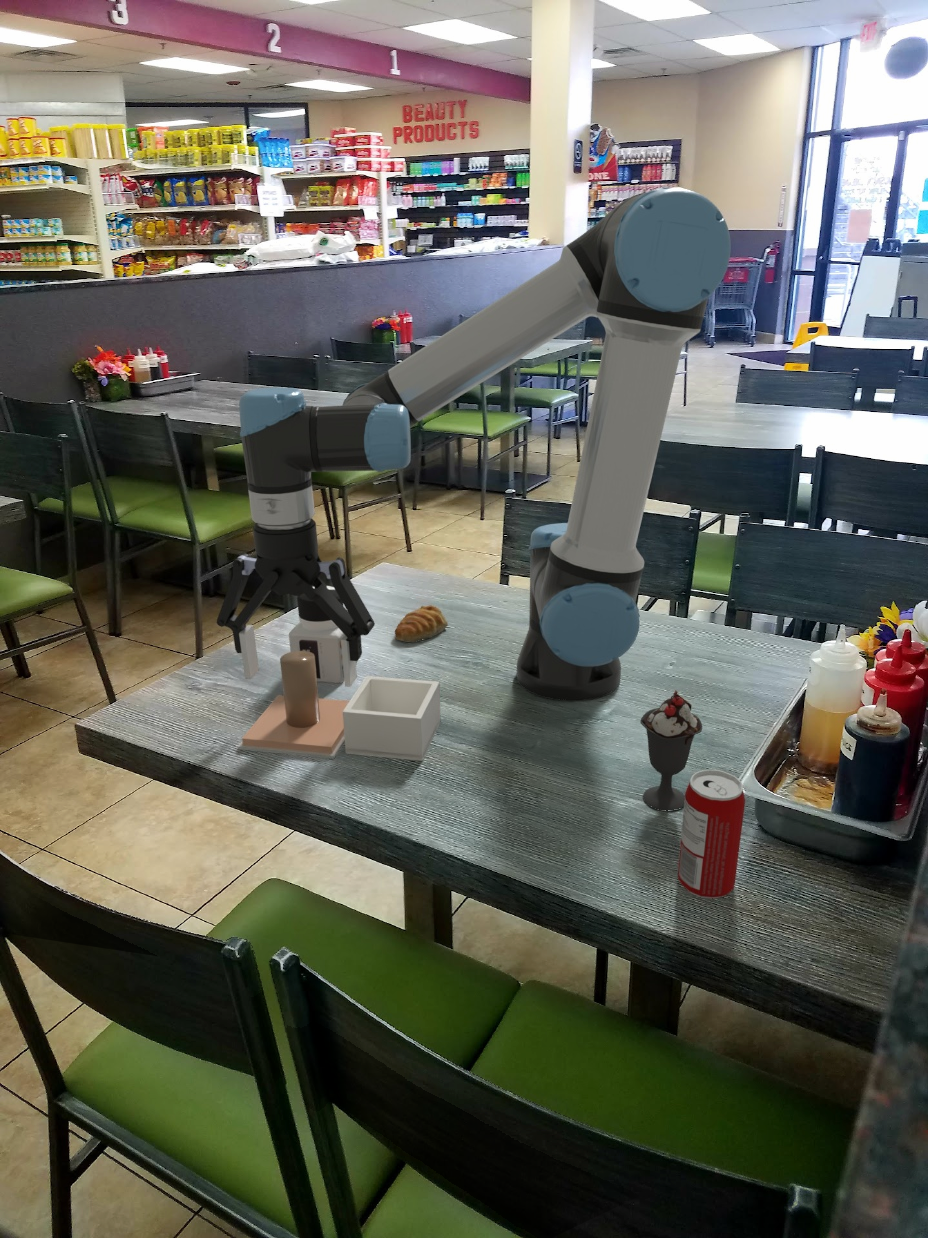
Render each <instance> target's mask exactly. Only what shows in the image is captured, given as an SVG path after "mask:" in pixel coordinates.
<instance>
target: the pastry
mask: <svg viewBox="0 0 928 1238" xmlns="http://www.w3.org/2000/svg"><path fill="white" fill-rule="evenodd" d="M448 624H449V623H448V620H447V619H446V617H445V615H444V614H443V612H442V610H441V609H440V608H439V607H437V606H434V605H432V604H431V605H425V606H424V605H421V606H420V608H418V609H415V610H413V611H410V612H408V613H406V614H405V615H404V617H403V618H402V619H401V620H400V621H399V623H398V624H397V626H396V628H395V629H394V636H395V640H396V641H401V642H407V643H414V642H415V643H417V642H419V641H418V640H421V641H423V640H422V639H425V640H429V639H431V638H432V637H431V636H433V637H435V636H437V635H438V633H439V634H440V632H441V633H442V632H444V631H445V630H446V628H447V627H448ZM436 634H437V635H436ZM434 635H435V636H434ZM428 638H429V639H428ZM416 641H417V642H416Z"/></svg>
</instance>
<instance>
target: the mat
mask: <svg viewBox="0 0 928 1238" xmlns="http://www.w3.org/2000/svg"><path fill="white" fill-rule="evenodd" d="M344 745H345V737H344V736H343V737H342V739H341V741H340V742H339V744H338V745H337V747H336V748H335V750H334V752H333V753H332V754H329V753H318V752H308V751H298V750H288V749H277V748H267V747H257V746H247V745H243V742H242V740H241V742H240V743H238V745H237V746H236V748H237V750H240V751H251V752H261V753H273V754H280V755H292V756H302V757H303V756H304V757H311V758H322V759H331V760H334V759H335V758H336V757H337V755H338V753H339V752H340V751H341V749H343V748H342V747H343V746H344Z"/></svg>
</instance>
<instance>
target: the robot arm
mask: <svg viewBox="0 0 928 1238" xmlns="http://www.w3.org/2000/svg"><path fill="white" fill-rule="evenodd" d="M731 243H732V241H731V235H730V231H729V227H728V225H727V221H726V219H725V218H724V215H723V214H722V213H721V211H720V210H719V208H718V207H717V206H716V205H715V204H714V203H713V202H712V201H711V200H710V199H708V197H706V196H704V195H703V194H701V193H698V192H696V191H693V190H689V189H686V188H684V187H680V186H679V187H671V186H662V187H658V188H654V189H653V190H649V191H646V192H641V193H638V194H635V195H633V196H630V197H628V198H627V199H624V200H623V201H622V202H620V203H619V204H618V205H617V206H615V207H614V208H613V209H612V210H611V211H610V212H608V213H607V214H606V215H605V216H603V218H601V219H600V220H599V221H598V222H597V223H596V224H594V225H593V226H592V227H591V228H589V229H588V230H587V231H586V232H584V233H582V234H581V235H579V236H578V237H577V238H576V239H574V240H573V241H571V242H570V243H568V244H566V245H565V246H563V248H562V251H561V254H560V258H559V260H558V261H556V262H554V263H553V264H552V265H550V266H548V267H546V268H545V269H543V270H542V271H541V272H539V273H537V274H536V275H534V276H533V277H531V278H529V279H528V280H526V281H525V282H523V283H522V284H520V285H519V286H517V287H516V288H514V289H513V290H510V292H508V293H506V294H505V295H503V296H501V297H500V298H498V299H497V300H495V301H494V302H492V303H491V304H489V305H488V306H486V307H484V308H483V309H481V310H480V311H478V312H476V313H475V314H473V315H472V316H471V317H469V318H467V319H466V320H464V321H463V322H461V323H459V324H458V325H457V326H455V327H453V328H452V329H450V330H448V331H447V332H445V333H444V334H443V335H441V336H440V337H438V338H436V339H434V340H433V341H432V342H430V343H428V344H426V345H425V346H424V347H422V348H421V349H419V350H417V351H416V352H414V353H413V354H411V355H410V356H408V357H407V358H404V360H402V361H401V362H398V363H397V364H396V365H394V366H393V367H391V368H389V369H387V371H386V372H384V373H382V374H380V375H378V376H377V377H376V378H374V379H373V380H371V381H370V382H368V383H362V384H360V385H358V386H357V387H355V388H354V389H353V390H351V391H350V392H349V393H348V394H347V396H346V398H345V399H344V400H343V403H342V405H328V406H314V405H307V402H306V401H305V397H304V394H303V392H302V391H301V390H300V389H299V388H294V387H281V386H279V387H266V388H265V387H264V388H256V389H252V390H249V391H247V392H245V393H244V394H243V395H241V397H240V399H239V401H238V407H239V421H240V422H239V423H240V432H239V437H240V439H241V445H242V451H243V458H244V464H245V465H244V466H245V472H246V482H247V489H248V498H249V507H250V515H251V520H252V521H253V522H254V523H255V524H254V525H253V527H252V533H253V539H254V540H253V541H254V549H255V553H256V558H254V557H250V555H249V554H248V553H247V552H246V553H244V552H243V553H242V554H240V555H239V556H238V557H236V558H235V559H234V560H233V562H232V578H231V580H230V583H229V586H228V590H227V592H226V594H225V596H224V600H223V601H222V602H223V603H222V605H221V608H220V610H219V613H218V615H217V619H216V624H217V626H219V627H227V628H228V629H231V631H232V636H233V642H234V650H235V652H236V654H241V657H242V666H243V672H244V673H243V674H244V679H245V680H252V679H253V677H254V676H256V675H257V673H258V672H259V671H260V667H259V658H258V651H257V645H256V637H255V636H256V635H255V629H254V625H252V624H251V625H250V624H248V625H246V624H247V623H248V622H249V621H250V620H251V618H252V617H253V616H254V614H255V613H256V612H257V610H258V609H259V608H260V607H261V605H262V604H263V602H264V601H265V600H266V598H267V597H268V596H269V594H271V592H274V593H276V595H277V596H284V595H286V596H287V595H291V596H293V597H295V596H296V597H297V596H301V595H302V594H305V595H306V596H307V597H308V598H309V599H310V600H311V601H314V602H315V603H316V604H317V605H318V606H319V607H320V608H321V609H322V610H323V612H324V613H325V614H326V615H327V616H328V617H329V618H330V619H331V620H332V621H333V622H334V623H335V625H336V626H337V627H338V628H339V629H340V630H341V631H342V632H343V633H344V634H345V635H344V637H343V638H342V639H341V647H342V659H343V670H344V681H343V683H344V687H349V688H351V687H352V685H353V684H354V683H355V681H356V680H357V679H358V673H357V672H358V670H357V663H356V661H357V662H358V661H359V659H360V658H361V657H362V654H363V648H362V647H363V646H362V636H367V635H369V634H370V632H371V631H372V629H373V628H374V627H375V625H376V624H375V621H374V619H373V617H372V615H371V613H370V612H369V610H368V609H367V607H366V605H365V603H364V602H363V600H362V598H361V596H360V595H359V593H358V591H357V589H356V588H355V586H354V584H353V583H352V581H351V579H350V578H349V576H348V573H347V567H346V563H345V560H344V558H342V557H337V558H335V560H329V561H322V560H321V558H320V556H319V544H318V541H319V540H318V534H317V533H318V532H317V524H316V523H317V521H315V520H314V519H313V518H314V517H315V516H316V511H315V502H314V501H315V500H314V492H313V481H312V480H313V479H312V472H315V473H316V472H317V473H319V472H320V473H321V472H323V473H324V472H373V471H374V472H375V471H376V472H379V473H380V472H385V471H390V470H392V471H393V470H401V469H405V468H406V467H408V466H409V464H410V463H411V460H412V459H411V457H412V455H411V454H412V453H411V452H412V443H411V442H412V441H411V428H412V427H413V426H415V425H416V424H418V423H419V422H420V421H422V420H423V419H425V418H427V417H428V416H430V415H431V414H433V413H435V412H437V411H438V410H440V409H441V408H444V406H446V405H448V404H450V402H453V401H455V400H456V399H458V398H459V397H460V396H463V395H464V394H465V393H468V392H469V391H471V390H473V388H475V387H477V386H479V385H480V384H482V383H483V382H485V381H487V380H489V379H490V378H492V377H493V376H495V375H496V374H498V373H499V372H502V371H503V370H504V369H506V368H507V367H510V366H511V365H513V364H514V363H516V362H518V361H519V360H521V359H522V358H525V357H526V356H528V355H529V354H530V353H532V352H534V351H536V350H537V349H539V348H540V347H542V346H543V345H545V344H547V343H548V342H550V341H552V340H553V339H555V338H556V337H558V336H561V334H564V333H565V332H566V331H568V330H570V329H571V328H573V327H575V326H576V325H577V324H579V323H581V322H583V321H584V320H586V319H588V318H589V317H595V318H596V319H597V318H598V320H599V321H600V323H601V325H602V326H603V327H604V330H605V336H604V342H603V346H602V351H601V352H602V353H601V356H600V357H601V358H600V363H599V366H598V372H597V378H596V382H595V386H594V390H593V391H594V392H593V395H592V396H593V397H592V401H591V407H590V412H589V416H588V421H587V426H586V431H585V435H584V436H585V437H584V439H583V440H584V442H583V446H582V450H581V451H582V452H581V456H580V461H579V467H578V471H577V476H576V480H575V486H574V492H573V496H572V499H571V500H572V501H571V506H570V511H569V515H568V521H567V522H562V523H561V522H560V523H559V522H558V523H551V524H545V525H544V524H543V525H541V526H538V527H536V528H535V529H534V530H533V531H532V532H531V535H530V544H529V545H530V546H529V547H528V551H529V552H530V557H529V562H530V566H529V570H530V571H529V618H528V619H529V621H528V622H529V626H528V630H527V633H526V636H525V639H524V640H523V644H522V646H521V649H520V651H519V652H520V653H519V655H518V657H517V660H516V661H517V662H516V679H517V682H518V683H519V684H520V686H521V687H522V688H524V689H525V690H526V691H528V692H530V693H532V694H534V695H535V696H536V695H537V696H539V697H541V698H546V699H549V700H550V699H551V700H557V701H564V702H565V701H567V702H568V701H570V702H572V701H573V702H577V701H578V702H579V701H580V702H581V701H588V700H594V699H597V698H601V697H604V696H606V695H608V694H610V693H612V692H614V691H615V690H616V689H617V688H618V687H619V686H620V683H621V674H622V673H621V672H622V665H621V661H620V657H622V656H623V655H624V654H626V653H627V652H628V651H629V650H630V649H631V648H632V646H633V644H634V643H635V641H636V639H637V637H638V634H639V631H640V624H641V623H640V617H641V616H640V615H641V614H640V611H639V610H640V609H639V607H638V605H637V602H636V601H637V596H638V592H639V588H640V583H641V579H642V575H643V571H644V568H645V560H644V558H643V556H642V555H641V554H640V551H639V550H638V549H637V547H636V546H637V543H638V538H639V537H638V536H639V533H640V530H641V529H640V527H641V524H642V520H643V515H644V511H645V509H646V503H647V499H648V495H649V490H650V485H651V482H652V477H653V473H654V468H655V465H656V461H657V456H658V451H659V448H660V444H661V439H662V434H663V431H664V426H665V422H666V417H667V413H668V410H669V405H670V401H671V395H672V392H673V387H674V383H675V379H676V375H677V370H678V366H679V361H680V357H681V354H682V351H683V349H682V348H683V346H684V345H685V344H686V342H687V341H689V340H690V339H692V338H693V337H695V336H697V335H698V334H699V333H700V332H701V329H702V324H703V320H704V317H705V312H706V309H707V304H708V301H709V297H711V295H713V294H714V292H715V291H716V289H717V288H718V286H719V285H720V284H721V282H722V281H723V279H724V277H725V275H726V273H727V270H728V268H729V267H728V266H729V263H730V258H731V250H732V249H731V248H732V246H731V245H732V244H731ZM254 569H255V571H256V573H257V574H258V575H259V577H260V578H261V579H262V580H263V581H262V582H261V584H260V585H259V587H258V588H257V589H256V590H255V593H253V595H252V597H251V598H250V599H249V601H248V602H247V603H246V604H245V606H244V607H243V608H242V610H241V611H240V613H239V614H238V615H236V612H237V609H238V606H239V604H240V601H241V598H242V595H243V592H244V590H245V588H246V585H247V582H248V579H249V577H250V574H252V573H253V572H254ZM321 573H324V574H325V576H326V579H328V580H330V581H331V584H332V587H334V588H335V590H336V592H337V593H338V595H339V597H340V599H341V600H342V602H343V605H342V604H341V603H340V602H339V601H338V600H337V599H336V598H335V597H334V596H333V594H332V593H331V592H330V591H329V590H328V589H327V586H328V585H327V584H326V583H325V582H324V580H323V579H321V577H320V575H321ZM313 587H315V589H314V588H313Z"/></svg>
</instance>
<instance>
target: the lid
mask: <svg viewBox="0 0 928 1238" xmlns="http://www.w3.org/2000/svg"><path fill="white" fill-rule="evenodd" d="M279 662H280V671H281V681H282V690H283V694H277V696H276V697H275V698H274V699H273V700H272V701H271V703H270V704H269V706H268V707H267V708H266V709H265V710H264V712H263V713H262V714H261V715H260V716H259V717H258V718H257V720H256V721H255V722H254V723H253V724H252V726H251V727H250V728H249V729H248V730H247V732H246V733H245V734H244V735H243V736H242V738H241V741H242V742H243V745H247V746H257V747H267V748H277V749H288V750H298V751H308V752H318V753H329V754H332V753H333V752H334V750H335V748H336V747H337V745H338V744H339V742H340V741H341V739H342V737H343V736H344V724H343V710H344V709H345V707H346V706H347V704H348V703H349V701H350V700H341V699H330V698H319V691H318V689H319V688H318V682H317V676H316V665H315V656H314V654H313V653H311V652H308V651H293V652H287V653H284V654H283V655H282V656H281V657H280V658H279Z"/></svg>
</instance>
